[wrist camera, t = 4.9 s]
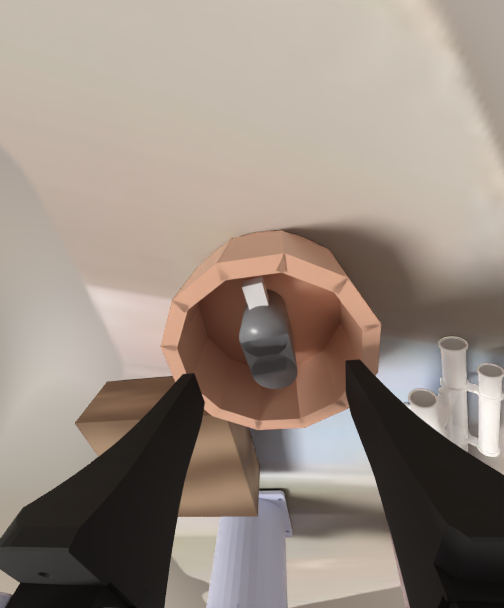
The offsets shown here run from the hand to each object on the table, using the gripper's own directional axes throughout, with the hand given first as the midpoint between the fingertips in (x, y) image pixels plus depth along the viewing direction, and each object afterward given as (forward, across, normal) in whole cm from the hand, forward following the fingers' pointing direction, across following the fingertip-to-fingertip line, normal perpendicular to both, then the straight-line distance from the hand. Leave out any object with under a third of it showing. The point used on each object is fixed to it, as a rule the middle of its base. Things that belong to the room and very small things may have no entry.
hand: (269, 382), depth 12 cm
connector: (+5, 0, 0) cm, 5 cm away
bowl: (+6, 0, -1) cm, 6 cm away
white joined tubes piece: (+6, -11, +10) cm, 16 cm away
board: (+6, +9, +11) cm, 15 cm away
